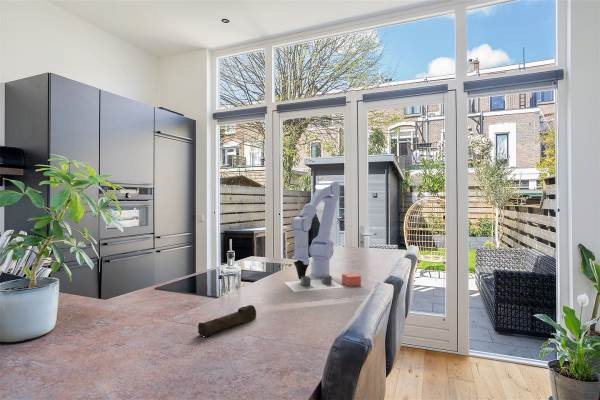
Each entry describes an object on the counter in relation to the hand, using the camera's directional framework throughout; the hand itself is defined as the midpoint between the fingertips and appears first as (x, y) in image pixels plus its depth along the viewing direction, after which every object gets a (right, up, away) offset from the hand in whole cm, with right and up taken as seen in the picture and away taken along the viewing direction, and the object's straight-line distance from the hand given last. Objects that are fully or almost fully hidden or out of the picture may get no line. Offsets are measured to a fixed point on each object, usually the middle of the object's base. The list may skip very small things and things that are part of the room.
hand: (301, 278), depth 143 cm
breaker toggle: (+2, -1, -5) cm, 6 cm away
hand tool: (-21, -4, -45) cm, 49 cm away
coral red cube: (+20, -3, -4) cm, 21 cm away
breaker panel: (+5, -3, -5) cm, 7 cm away
